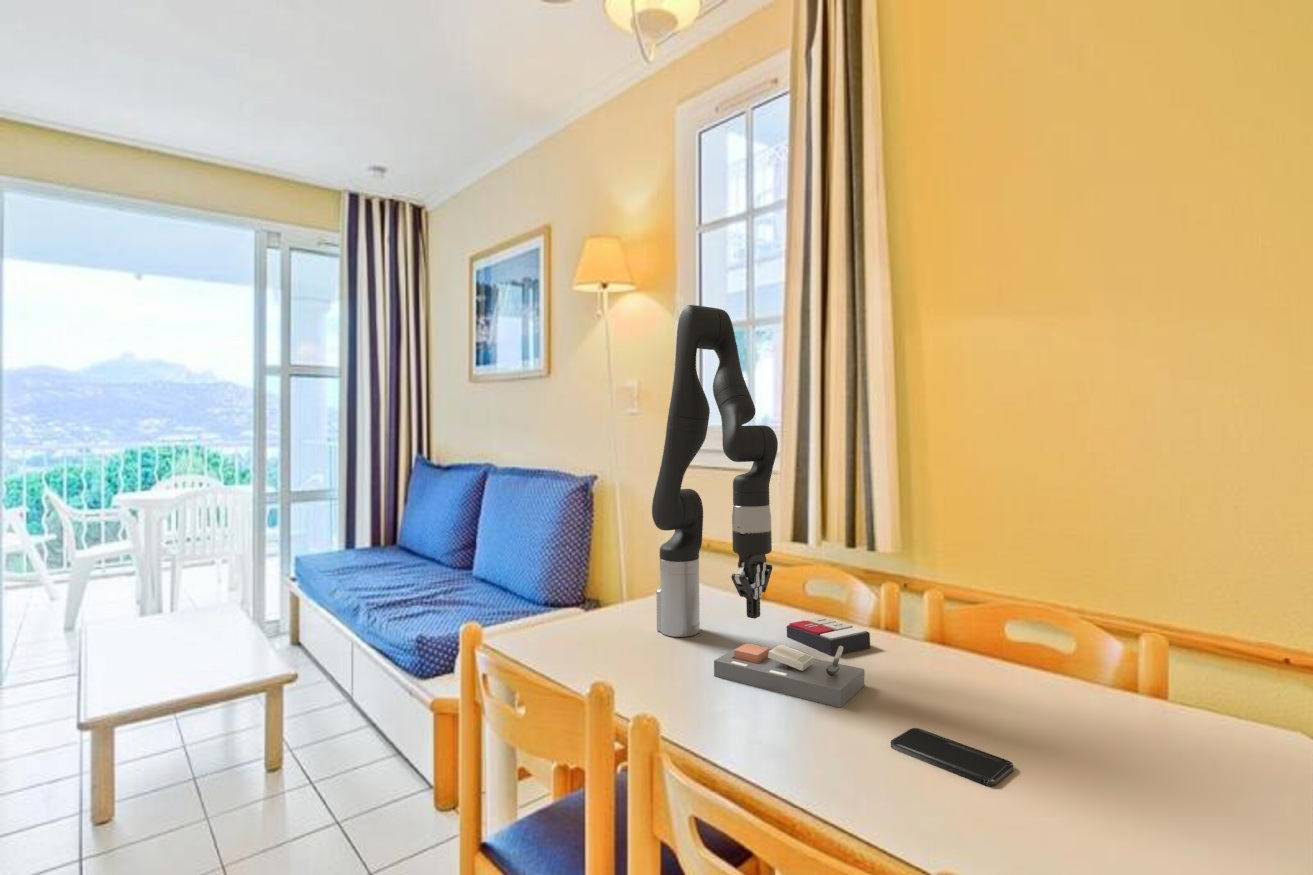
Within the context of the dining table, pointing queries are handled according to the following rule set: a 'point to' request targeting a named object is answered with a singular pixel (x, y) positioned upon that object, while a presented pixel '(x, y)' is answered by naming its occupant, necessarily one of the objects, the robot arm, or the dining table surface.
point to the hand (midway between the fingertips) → (753, 617)
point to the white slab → (791, 657)
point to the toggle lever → (835, 663)
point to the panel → (794, 678)
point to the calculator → (829, 635)
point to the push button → (751, 653)
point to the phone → (953, 756)
